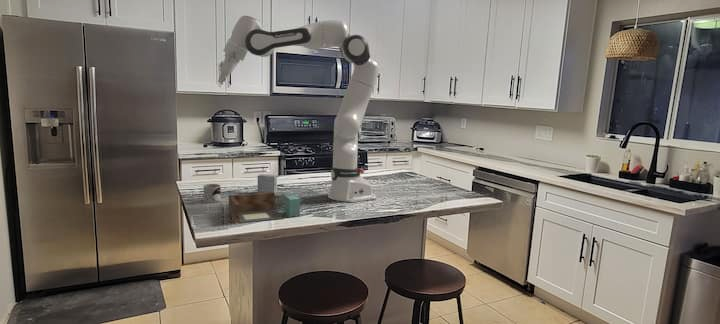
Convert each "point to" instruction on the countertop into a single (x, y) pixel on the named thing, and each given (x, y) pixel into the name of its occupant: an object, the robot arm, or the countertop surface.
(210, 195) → the mug
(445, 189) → the countertop surface
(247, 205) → the corner walls
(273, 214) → the mat
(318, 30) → the robot arm
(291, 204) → the teal block
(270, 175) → the medicine box
